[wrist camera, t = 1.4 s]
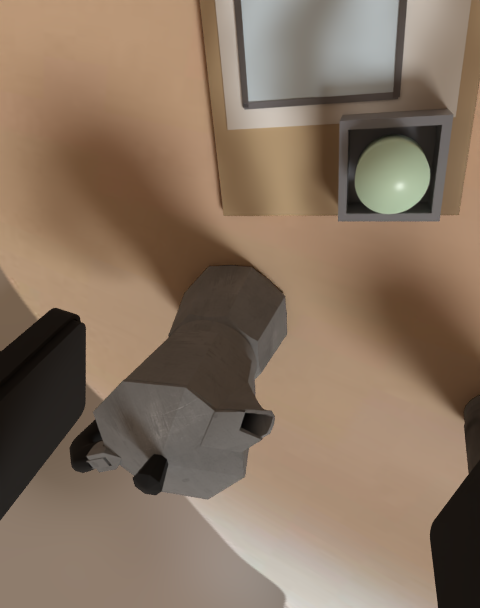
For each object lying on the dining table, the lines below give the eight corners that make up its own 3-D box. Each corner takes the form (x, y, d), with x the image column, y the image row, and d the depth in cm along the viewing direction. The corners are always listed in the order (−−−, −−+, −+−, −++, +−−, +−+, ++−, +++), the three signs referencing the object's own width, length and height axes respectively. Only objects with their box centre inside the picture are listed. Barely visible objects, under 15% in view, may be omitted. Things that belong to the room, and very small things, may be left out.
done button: (429, 132, 26) (434, 140, 24) (422, 201, 28) (425, 213, 26) (357, 135, 27) (355, 144, 25) (355, 201, 29) (353, 214, 27)
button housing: (447, 108, 26) (453, 114, 24) (434, 207, 29) (439, 221, 27) (342, 114, 28) (339, 121, 26) (340, 208, 31) (338, 221, 29)
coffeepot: (282, 234, 34) (206, 392, 19) (331, 334, 37) (300, 538, 22) (129, 296, 40) (-19, 449, 25) (181, 376, 44) (79, 554, 29)
